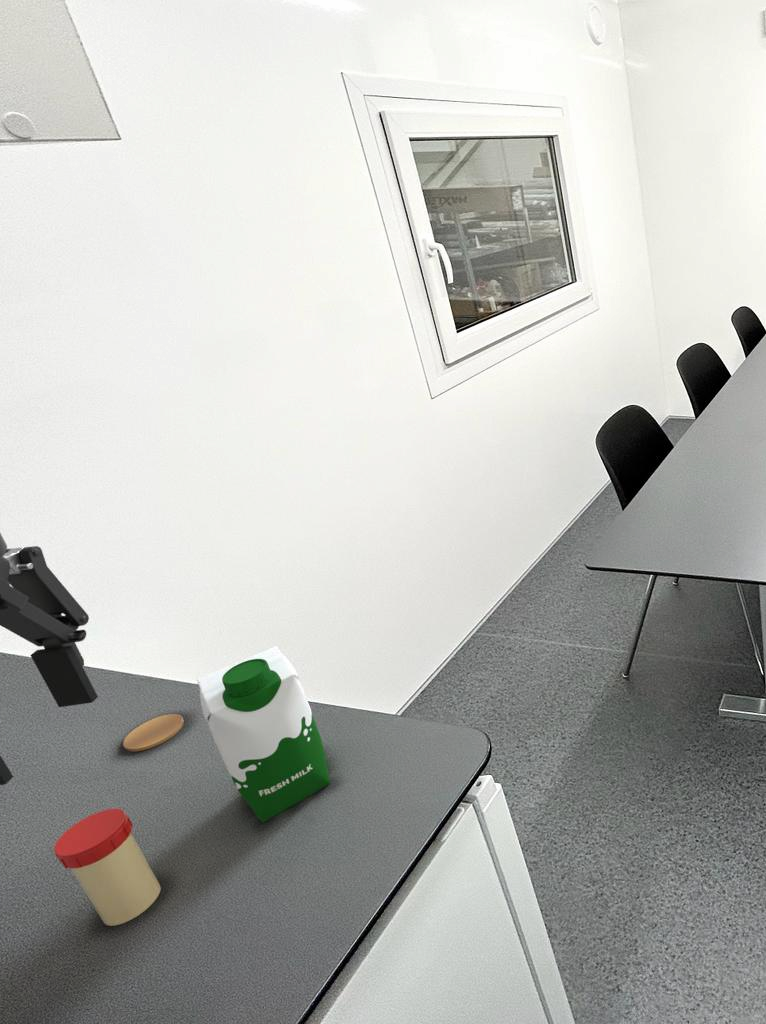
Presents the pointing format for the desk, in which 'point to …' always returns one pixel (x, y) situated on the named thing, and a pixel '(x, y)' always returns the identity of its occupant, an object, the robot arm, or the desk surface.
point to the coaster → (153, 732)
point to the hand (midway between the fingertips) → (37, 739)
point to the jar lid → (93, 838)
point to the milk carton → (265, 732)
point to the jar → (119, 883)
